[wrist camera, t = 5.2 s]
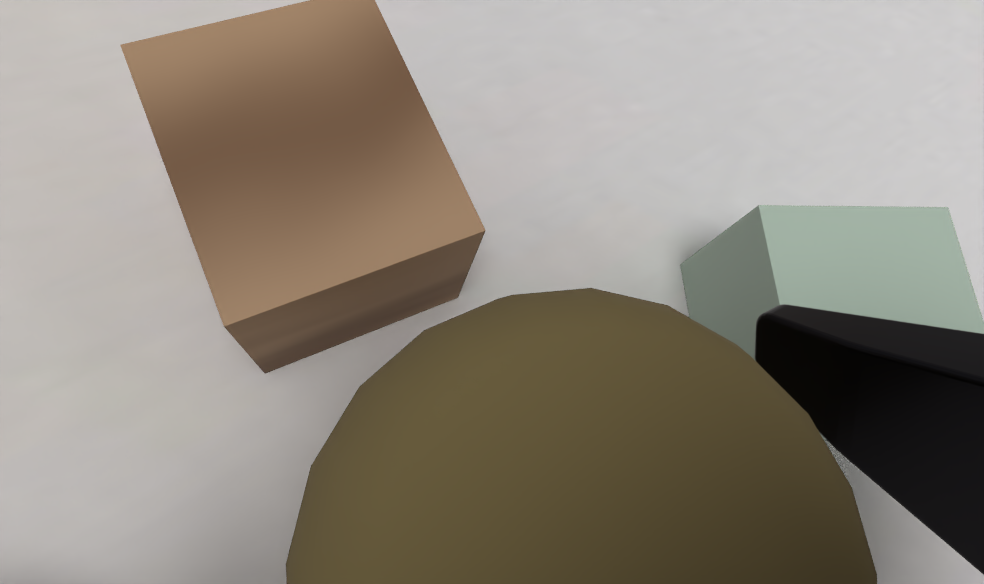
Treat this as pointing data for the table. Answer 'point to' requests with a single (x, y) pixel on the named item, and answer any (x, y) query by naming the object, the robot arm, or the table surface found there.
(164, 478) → the table surface
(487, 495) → the olive pawn
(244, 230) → the walnut block
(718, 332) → the sage block
